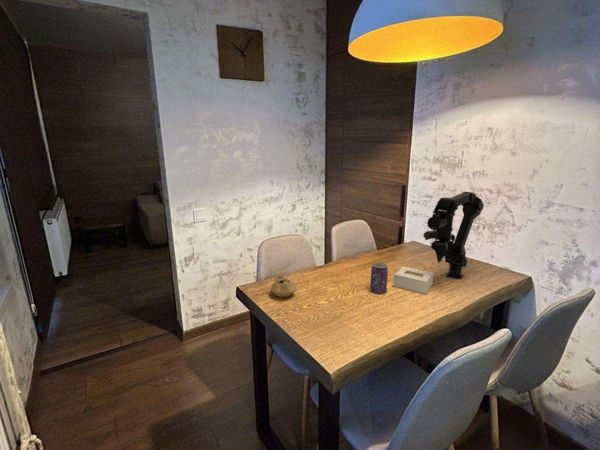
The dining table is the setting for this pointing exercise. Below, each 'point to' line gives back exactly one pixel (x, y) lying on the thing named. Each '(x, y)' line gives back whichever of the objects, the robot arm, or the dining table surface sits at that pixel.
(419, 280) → the moneybox
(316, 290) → the dining table surface
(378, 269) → the beverage can
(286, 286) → the oil lamp
